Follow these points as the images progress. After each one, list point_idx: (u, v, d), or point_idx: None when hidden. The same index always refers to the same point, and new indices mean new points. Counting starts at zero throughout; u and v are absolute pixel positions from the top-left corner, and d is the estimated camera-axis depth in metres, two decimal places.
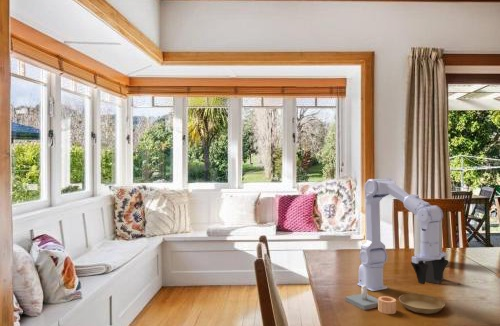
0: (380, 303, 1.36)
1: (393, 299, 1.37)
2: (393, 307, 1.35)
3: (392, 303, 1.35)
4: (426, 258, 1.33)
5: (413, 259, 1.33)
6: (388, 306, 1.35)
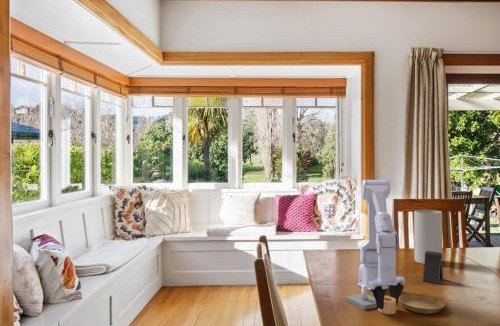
0: None
1: (393, 299, 1.37)
2: (393, 307, 1.35)
3: (392, 303, 1.35)
4: (382, 284, 1.34)
5: (369, 285, 1.34)
6: (388, 306, 1.35)
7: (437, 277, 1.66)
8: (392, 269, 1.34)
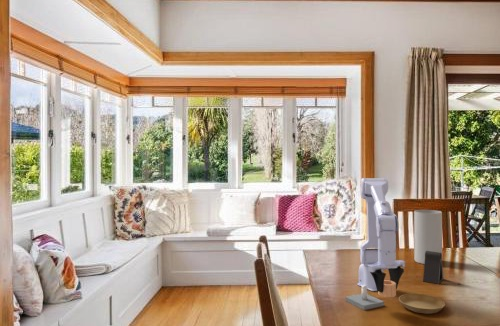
0: None
1: (393, 282, 1.37)
2: (393, 290, 1.35)
3: (392, 286, 1.35)
4: (382, 267, 1.34)
5: (369, 268, 1.34)
6: (388, 289, 1.34)
7: (437, 277, 1.66)
8: (392, 252, 1.34)
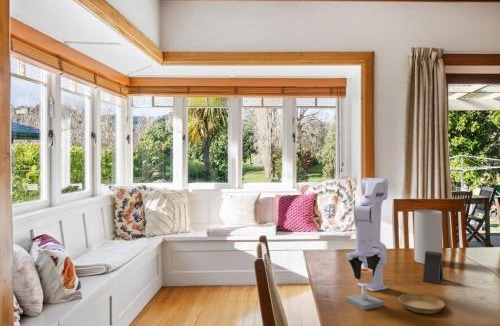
0: None
1: (370, 270, 1.44)
2: (370, 277, 1.42)
3: (369, 273, 1.42)
4: (359, 255, 1.41)
5: (347, 256, 1.42)
6: (365, 276, 1.42)
7: (437, 277, 1.66)
8: (369, 241, 1.42)
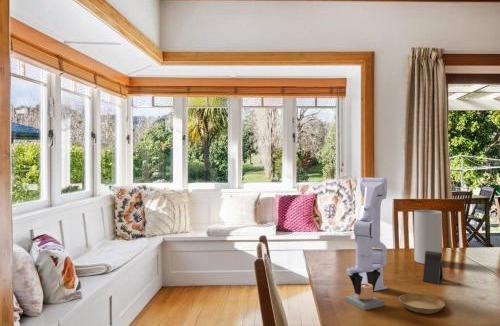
0: None
1: (370, 285, 1.44)
2: (370, 292, 1.42)
3: (369, 289, 1.42)
4: (359, 270, 1.41)
5: (347, 271, 1.42)
6: (365, 292, 1.42)
7: (437, 277, 1.66)
8: (369, 256, 1.42)
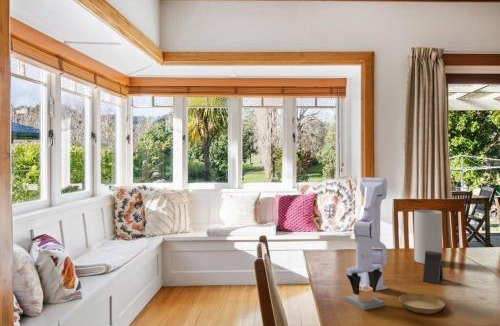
0: None
1: (370, 288, 1.44)
2: (370, 295, 1.42)
3: (369, 291, 1.42)
4: (359, 270, 1.41)
5: (347, 271, 1.42)
6: (365, 294, 1.42)
7: (437, 277, 1.66)
8: (369, 256, 1.42)
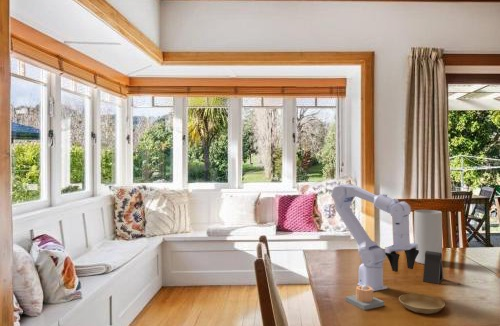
0: (357, 291, 1.43)
1: (370, 288, 1.44)
2: (370, 295, 1.42)
3: (369, 291, 1.42)
4: (397, 248, 1.50)
5: (386, 249, 1.50)
6: (365, 294, 1.42)
7: (437, 277, 1.66)
8: (406, 235, 1.50)
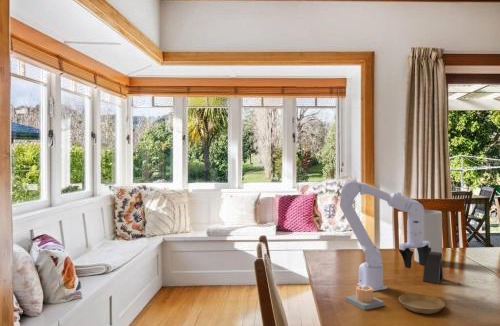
0: (357, 291, 1.43)
1: (370, 288, 1.44)
2: (370, 295, 1.42)
3: (369, 291, 1.42)
4: (411, 245, 1.54)
5: (400, 246, 1.55)
6: (365, 294, 1.42)
7: (437, 277, 1.66)
8: (420, 233, 1.55)
